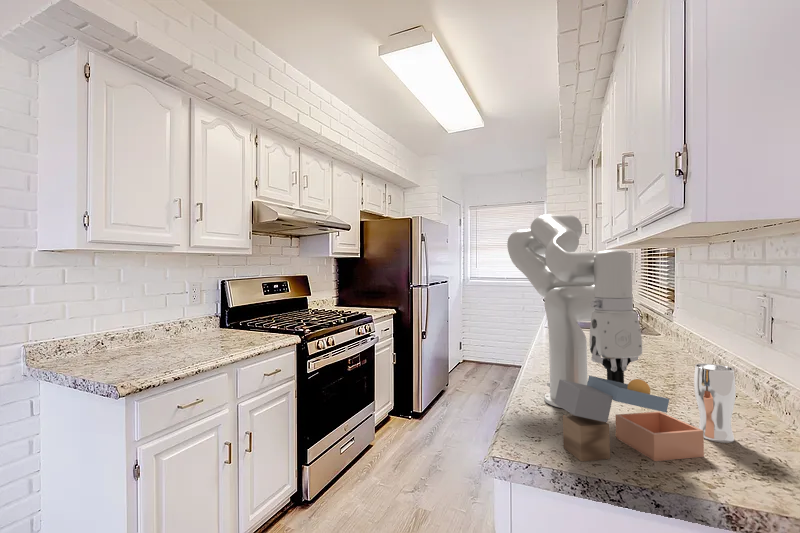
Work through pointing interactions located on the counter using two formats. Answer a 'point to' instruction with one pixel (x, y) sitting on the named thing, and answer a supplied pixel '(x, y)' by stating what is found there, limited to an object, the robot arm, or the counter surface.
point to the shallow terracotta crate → (659, 436)
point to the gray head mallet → (602, 398)
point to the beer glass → (715, 400)
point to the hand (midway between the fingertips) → (615, 387)
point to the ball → (639, 386)
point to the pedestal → (586, 438)
